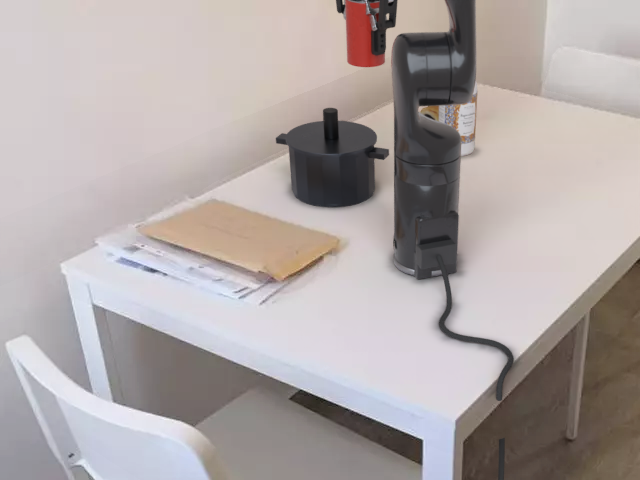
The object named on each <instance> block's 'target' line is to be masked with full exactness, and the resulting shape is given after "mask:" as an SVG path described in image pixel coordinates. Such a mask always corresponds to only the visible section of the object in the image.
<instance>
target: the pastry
mask: <svg viewBox="0 0 640 480" xmlns="http://www.w3.org/2000/svg"><path fill="white" fill-rule="evenodd" d="M419 112H420V113H421V114H423V115H424V116H426V117H428V118H430V119H433V120H436V121H439V106H424V107H422V109H420V111H419Z"/></svg>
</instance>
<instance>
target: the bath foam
mask: <svg viewBox="0 0 640 480" xmlns="http://www.w3.org/2000/svg"><path fill="white" fill-rule="evenodd" d="M477 108H478V83H477V80H476V81H475V88H474V93H473V95H472V98H471V99H470V101H469V102H467V103H465V104H461V105H445V106H439V122H442V123H445V124H447V125H450V126H452V127H453V128H455V129H456V130H457V131H458V132H459V134H460V136H461V157H464V156H467V155H468V156H469V155H470V154H472V153H473V152H475V148H476V147H475V145H476V129H477V110H478V109H477Z"/></svg>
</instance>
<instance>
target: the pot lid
mask: <svg viewBox="0 0 640 480" xmlns="http://www.w3.org/2000/svg"><path fill="white" fill-rule="evenodd" d="M286 134H287V135H286V143H287V145H286V146H288V148H289V147H290V148H291V149H293V150H295V151H297V152H299V153H302V154H306V155H311V156H319V157H341V156H349V155H354V154H358V153H361V152H364V151H366V150H368V149H370V148H372V147H373V146H374V147H375V145H376V144H377V142H378V135H377V133H376V131H374V129H372V128H371V127H369V126H367V125H364V124H361V123H358V122H353V121H347V120H339V110H338V108H336V107H325V108H323V109H322V120H318V121H311V122H306V123H304V124H300V125H297V126H295V127H294V128H291V129H290V130H289V131H288V132H287V133H286Z"/></svg>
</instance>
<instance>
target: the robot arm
mask: <svg viewBox="0 0 640 480" xmlns="http://www.w3.org/2000/svg"><path fill="white" fill-rule="evenodd" d="M361 1H363V2H365V6H366V8H365V11H366V15H367V16H369V21H370V24H371V28H372V30H371V53H372V54H373V55H376V56H377V55H382V54H384V53H385V54H386V50H387V30H388V29H392V28H396V25H397V24H396V23H397V14H398V13H397V12H398V11H397V10H398V0H361ZM375 1H380V2H379V8H374V9H373V8H371V6H370V3H369V2H375ZM443 1H444V3H445V6H446V11H447V15H448V30H447V31H432V32H431V31H428V32H427V31H425V32H402V33H399V34H398V35H396V37H395V38H394V41H393V43H392V47H391V58H390V63H391V65H390V67H391V69H390V70H391V83H392V84H391V85H392V100H393V201H394V202H393V215H394V216H393V242H392V247H393V248H392V249H393V250H394V251H393V264H394V266H395V267H396V268H397V269H398V270H399V271H401V272H402V273H405V274H407V275H410V276H413V277H415V278H416V279H417V280H422V279H428V278H433V277H439V276H442V280H443V284H444V289H445V297H446V307H445V310H444V312H443V313H442V315H441V316H440V318H439V320H438V326H439V329H440V330H441V332H442V333H444V335H446V336H447V337H450V338H452V339H455V340H458V341H463V342H470V343H475V344H482V345H488V346H492V347H495V348H498V349H499V350H501V351H502V352H503V353H504V354H505V355H506V356H507V362H506V364H504V366H503V368H502V370H501V371H500V373H499V376H498V379H497V382H496V389H495V400H496V401H498V402H501V401H502V400H503V387H504V381H505V379H506V377H507V374H508V372H509V371H510V370H511V368H512V367H513V364H514V361H515V357H514V353H513V352H512V350H511V349H510V348H509V347H508V346H506V345H505V344H503V343H502V342H499V341H496V340H493V339H489V338H483V337H478V336H472V335H471V336H470V335H465V334H459V333H456V332H454V331H451V330H450V329H449V328H447V327H446V325H445V321H446V320H447V318H448V317H449V315H450V313H451V310H452V306H453V298H452V296H453V295H452V288H451V284H450V279H449V275H448V274H454V273H457V272H458V249H459V247H458V245H459V223H460V215H459V211H460V208H459V207H460V206H459V205H460V186H461V185H460V182H461V163H462V156H461V136H460V134H459V132H458V131H457V130H456V129H455V128H453V127H452V126H450V125H447V124H445V123H442V122H439V121H436V120H433V119H430V118H428V117H426V116H424V115H423V114H421V113H420V111H419V108H421V107H428V106H445V105H461V104H465V103H467V102H469V101H470V99H471V98H472V95H473V93H474V88H475V81H476V82H477V3H476V2H477V0H443ZM335 5H336V6H335V7H336V12H337V13H338V14H342V17H343V20H345V21H346V10H345V0H335ZM375 14H379V17H378V22H377V20H376V16H375ZM387 15H388V17H387ZM505 444H506V438H505V437H501V438H499V439H498V469H497V470H498V473H497V480H505V456H506V455H505V453H506V452H505V450H506V449H505V448H506V445H505Z"/></svg>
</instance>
